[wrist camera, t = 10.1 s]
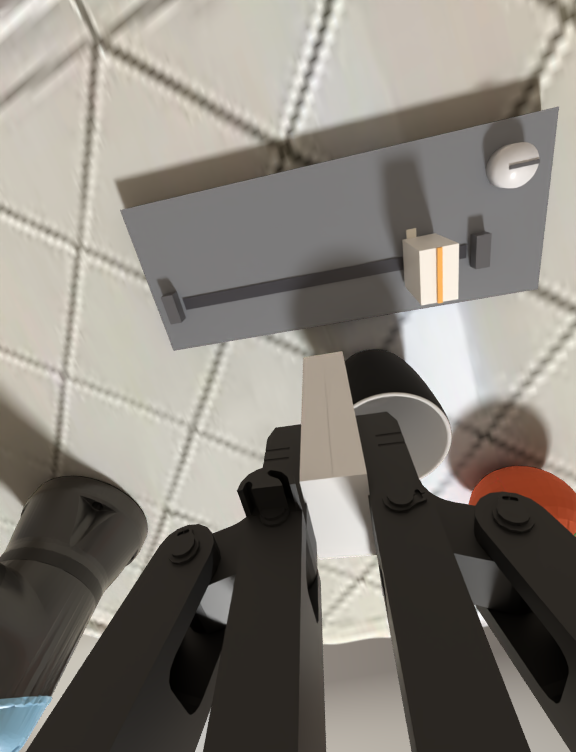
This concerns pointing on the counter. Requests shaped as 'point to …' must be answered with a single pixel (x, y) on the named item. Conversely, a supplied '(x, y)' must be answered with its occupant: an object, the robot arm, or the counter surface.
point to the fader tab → (431, 268)
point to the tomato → (532, 491)
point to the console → (348, 233)
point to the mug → (401, 404)
